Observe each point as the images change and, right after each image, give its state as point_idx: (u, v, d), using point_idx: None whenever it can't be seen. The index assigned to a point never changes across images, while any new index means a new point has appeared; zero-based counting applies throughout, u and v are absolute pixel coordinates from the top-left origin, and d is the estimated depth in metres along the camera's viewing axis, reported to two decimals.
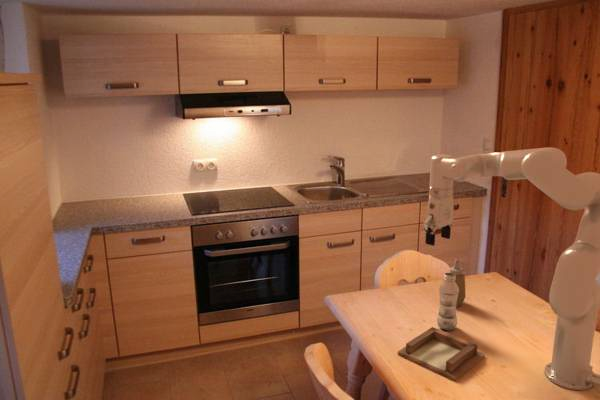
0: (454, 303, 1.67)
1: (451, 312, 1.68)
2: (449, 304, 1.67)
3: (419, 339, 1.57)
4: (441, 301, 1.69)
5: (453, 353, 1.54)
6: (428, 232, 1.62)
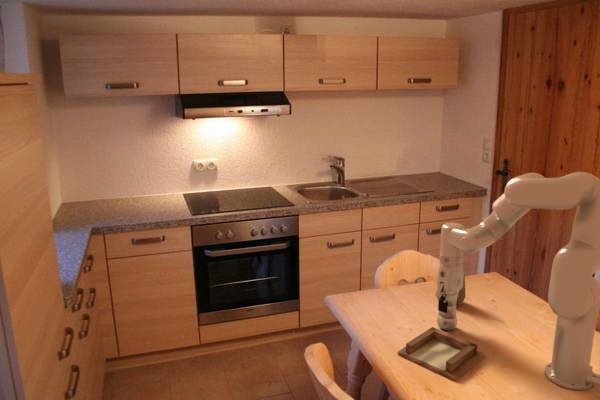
0: (454, 303, 1.67)
1: (451, 312, 1.68)
2: (449, 304, 1.67)
3: (419, 339, 1.57)
4: None
5: (453, 353, 1.54)
6: (441, 300, 1.66)
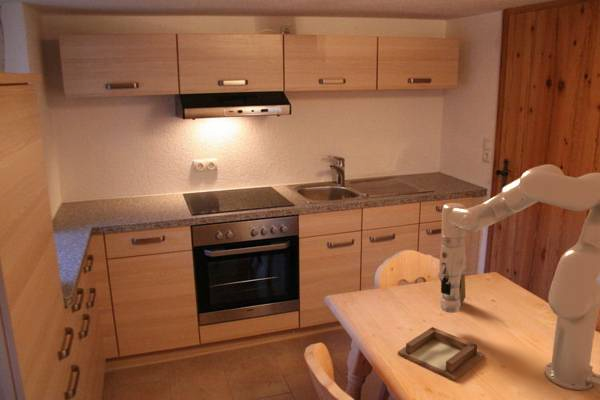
0: (457, 285, 1.65)
1: (454, 294, 1.66)
2: (452, 286, 1.65)
3: (419, 339, 1.57)
4: None
5: (453, 353, 1.54)
6: (443, 282, 1.64)
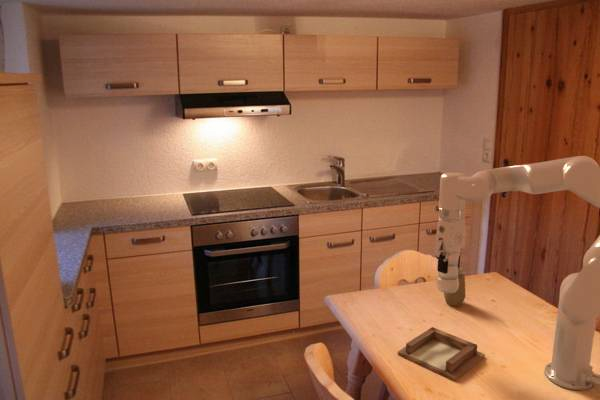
0: (455, 262, 1.50)
1: (452, 273, 1.51)
2: (449, 263, 1.50)
3: (419, 339, 1.57)
4: None
5: (453, 353, 1.54)
6: (440, 259, 1.49)
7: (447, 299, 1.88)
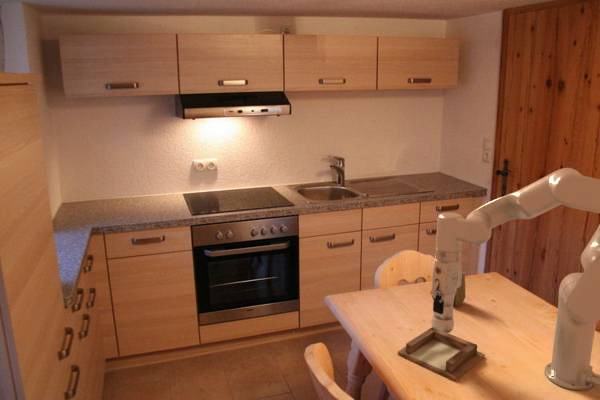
0: (451, 303, 1.49)
1: (447, 313, 1.49)
2: (445, 304, 1.49)
3: (419, 339, 1.57)
4: None
5: (453, 353, 1.54)
6: (436, 300, 1.47)
7: None
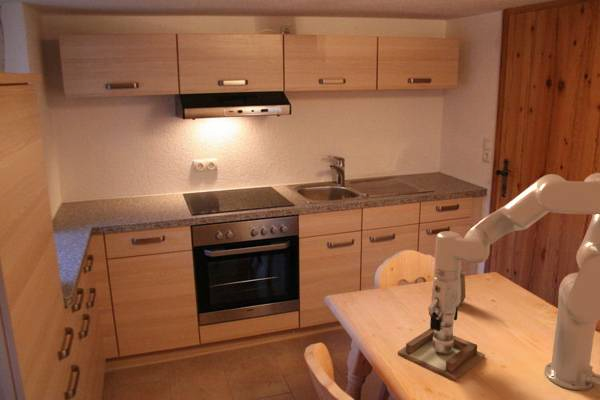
0: (451, 324, 1.51)
1: (447, 334, 1.51)
2: (445, 325, 1.50)
3: (419, 339, 1.57)
4: None
5: (453, 353, 1.54)
6: (433, 317, 1.47)
7: None
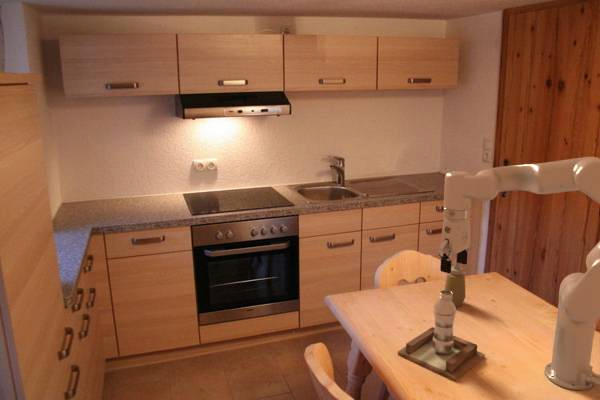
0: (451, 324, 1.50)
1: (447, 335, 1.51)
2: (445, 325, 1.50)
3: (419, 339, 1.57)
4: (436, 322, 1.52)
5: (453, 353, 1.54)
6: (444, 259, 1.44)
7: None
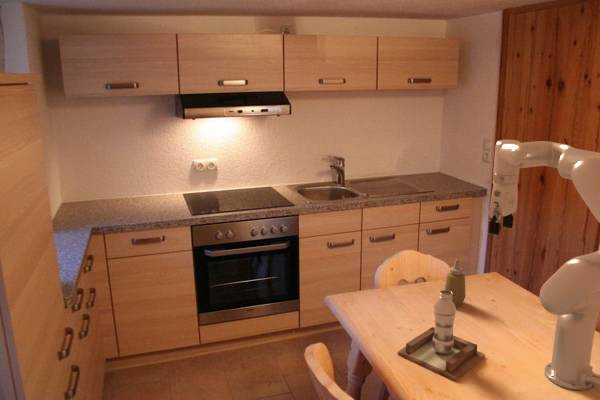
0: (451, 324, 1.50)
1: (447, 335, 1.51)
2: (445, 325, 1.50)
3: (419, 339, 1.57)
4: (436, 322, 1.52)
5: (453, 353, 1.54)
6: (493, 221, 1.55)
7: None
